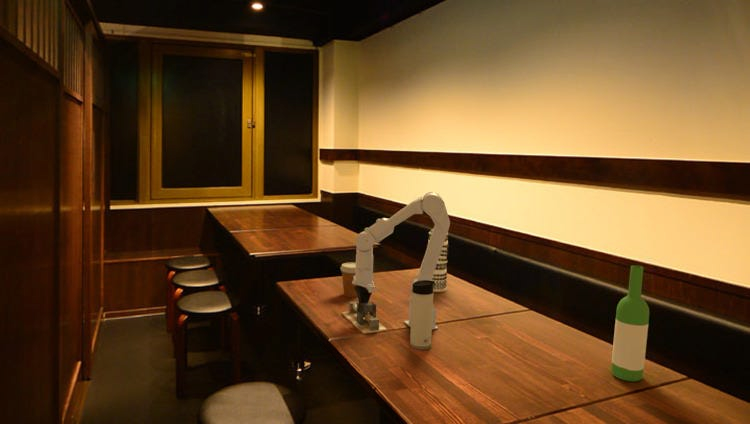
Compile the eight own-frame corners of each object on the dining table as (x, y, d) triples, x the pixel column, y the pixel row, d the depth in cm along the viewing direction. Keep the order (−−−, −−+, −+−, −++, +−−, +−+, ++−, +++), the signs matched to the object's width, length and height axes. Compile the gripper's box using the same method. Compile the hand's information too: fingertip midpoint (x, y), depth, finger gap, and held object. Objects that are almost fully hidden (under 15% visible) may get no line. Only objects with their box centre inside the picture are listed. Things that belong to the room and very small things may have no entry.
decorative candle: (450, 288, 221) (453, 228, 217) (441, 293, 213) (444, 232, 209) (431, 284, 225) (433, 226, 222) (421, 289, 218) (423, 229, 214)
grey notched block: (375, 322, 175) (376, 304, 174) (360, 324, 173) (360, 306, 172) (372, 319, 177) (372, 301, 177) (356, 321, 175) (357, 303, 174)
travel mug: (431, 351, 154) (433, 284, 152) (408, 348, 156) (411, 282, 153) (433, 343, 160) (435, 279, 158) (411, 341, 162) (413, 277, 159)
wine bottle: (615, 367, 147) (625, 261, 142) (645, 376, 142) (657, 266, 138) (606, 376, 141) (617, 266, 136) (638, 386, 136) (650, 271, 132)
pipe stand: (386, 330, 170) (386, 318, 169) (363, 333, 167) (363, 321, 166) (363, 311, 188) (363, 300, 188) (341, 313, 185) (342, 302, 184)
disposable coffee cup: (336, 292, 210) (336, 263, 208) (358, 290, 214) (359, 261, 212) (345, 299, 201) (345, 268, 200) (368, 297, 205) (368, 266, 204)
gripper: (345, 263, 180) (344, 302, 182) (361, 274, 167) (360, 315, 169) (364, 262, 183) (363, 300, 185) (381, 272, 170) (380, 313, 172)
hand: (363, 307), depth 177 cm, fingers closed
